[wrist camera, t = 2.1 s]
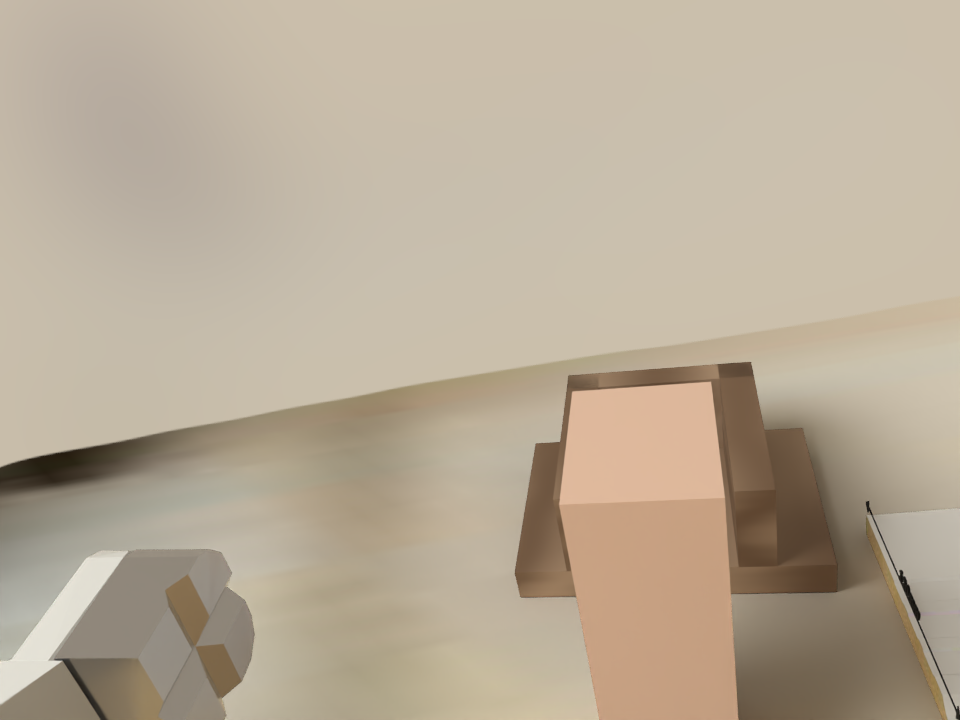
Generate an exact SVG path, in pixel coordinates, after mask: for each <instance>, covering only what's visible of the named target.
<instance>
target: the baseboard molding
mask: <svg viewBox="0 0 960 720" xmlns="http://www.w3.org/2000/svg"><path fill="white" fill-rule="evenodd" d="M866 506H867V512H869V511H870V513H871V515H866V533H867V536H868V539H869V541H870V543H871V546H872V548H873V551H874V553H875V556H876V558H877V560H878V563H879V565H880V568H881V570H882V573H883V575H884V577H885V580H886V582H887V585H888V587H889V590H890V592H891V594H892V597H893V599H894V602H895V604H896V607H897V609H898V611H899V614H900V616H901V619H902V621H903V624H904V626H905V628H906V631H907V633H908V636H909V638H910V641H911V643H912V645H913V648H914V650H915V653H916V655H917V658H918V660H919V662H920V665H921V667H922V670H923V672H924V675H925V677H926V679H927V682H928V684H929V687H930V689H931V692H932V694H933V696H934V699H935V701H936V704H937V706H938V709H939V711H940V713H941V716H942V718H943V720H960V508H953V509H940V510H927V511H915V512H902V513H889V514H877V515H873V514H872V512H871V510H870V507H869V501H867V502H866Z"/></svg>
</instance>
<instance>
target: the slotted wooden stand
mask: <svg viewBox="0 0 960 720" xmlns="http://www.w3.org/2000/svg"><path fill="white" fill-rule="evenodd" d="M700 382H711V385H712V394H713V402H714V410H715V419H716V427H717V435H718V444H719V452H720V461H721V469H722V477H723V486H724V494H725V507H726V523H727V540H728V556H729V573H730V589H731V594H734V593H792V592H837V562H836V558H835V554H834V550H833V546H832V542H831V538H830V534H829V530H828V526H827V522H826V519H825V515H824V511H823V507H822V503H821V499H820V495H819V491H818V487H817V483H816V479H815V475H814V472H813V468H812V464H811V460H810V456H809V452H808V448H807V444H806V440H805V436H804V432H803V429H802V428H795V429H778V430H764V426H763V421H762V416H761V411H760V406H759V401H758V396H757V390H756V385H755V380H754V375H753V370H752V365H751V362H742V363H728V364H715V365H702V366H689V367H676V368H662V369H649V370H636V371H623V372H610V373H596V374H583V375H570V376H568V384H567V392H566V400H565V408H564V416H563V424H562V432H561V440H560V442H555V443H537V444H536V446H535V452H534V458H533V464H532V470H531V476H530V482H529V488H528V495H527V501H526V507H525V513H524V519H523V525H522V531H521V537H520V544H519V550H518V556H517V562H516V568H515V576H516V580H517V584H518V588H519V593H520V597H559V596H576V592H575V587H574V581H573V576H572V571H571V565H570V560H569V555H568V549H567V544H566V539H565V533H564V528H563V523H562V517H561V512H560V507H559V501H560V493H561V484H562V476H563V467H564V458H565V450H566V441H567V433H568V424H569V415H570V407H571V398H572V392H573V391H587V390H601V389H615V388H629V387H643V386H658V385H672V384H686V383H700Z"/></svg>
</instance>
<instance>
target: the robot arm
mask: <svg viewBox="0 0 960 720" xmlns="http://www.w3.org/2000/svg"><path fill="white" fill-rule="evenodd" d="M231 574H232V572H231V570H230V568H229V566H228V564H227V562H226V560H225V559H224V557H223V555H222V553H221V552H217V551H213V550H209V549H194V550H135V551H99V552H97V553H95V554H93V555H91V556H89V557H87V558H86V559H85V561H84V562H83V563H82V565H81V566H80V567H79V569H78V570H77V571H76V573H75V574H74V575H73V577H72V578H71V579H70V581H69V582H68V583H67V585H66V586H65V587H64V589H63V590H62V591H61V593H60V594H59V596H58V597H57V598H56V600H55V601H54V602H53V604H52V605H51V606H50V608H49V609H48V610H47V612H46V613H45V614H44V616H43V617H42V618H41V620H40V621H39V622H38V624H37V625H36V626H35V628H34V629H33V631H32V632H31V633H30V635H29V636H28V637H27V639H26V640H25V641H24V643H23V644H22V645H21V647H20V648H19V649H18V651H17V652H16V653H15V655H14V656H13V657H12V659H11V660H4V661H0V720H224V719H225V717H226V712H225V708H224V704H223V700H222V698H223V697H224V696H225V695H226V694H227V693H228V692H230V691H231V690H232V689H233V688H234V687H236V686H237V685H238V684H239V683H240V682H242V680H243V677H244V675H245V673H246V670H247V668H248V666H249V663H250V661H251V657H252V649H253V642H254V628H253V622H252V615H251V613H250V611H249V609H248V606H247V604H246V602H245V600H244V599H242V598H241V597H240V596H238V595H237V594H236V593H234V592H233V591H232V590H230V589H229V588H228V587H227V584H228V582H229V579H230V577H231Z"/></svg>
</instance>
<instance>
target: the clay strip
mask: <svg viewBox="0 0 960 720" xmlns="http://www.w3.org/2000/svg"><path fill="white" fill-rule="evenodd" d="M559 507H560V512H561V517H562V523H563V528H564V533H565V539H566V544H567V549H568V555H569V560H570V565H571V571H572V576H573V581H574V587H575V592H576V597H577V603H578V608H579V613H580V618H581V624H582V629H583V634H584V640H585V645H586V650H587V656H588V661H589V666H590V672H591V677H592V682H593V688H594V693H595V698H596V704H597V709H598V714H599V720H738V704H737V688H736V671H735V655H734V638H733V622H732V606H731V589H730V573H729V556H728V540H727V523H726V507H725V494H724V486H723V477H722V469H721V461H720V452H719V444H718V435H717V427H716V419H715V410H714V402H713V394H712V385H711V382H700V383H686V384H672V385H658V386H643V387H629V388H615V389H601V390H587V391H573V392H572V398H571V407H570V415H569V424H568V433H567V441H566V450H565V458H564V467H563V476H562V484H561V493H560V501H559Z"/></svg>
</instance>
